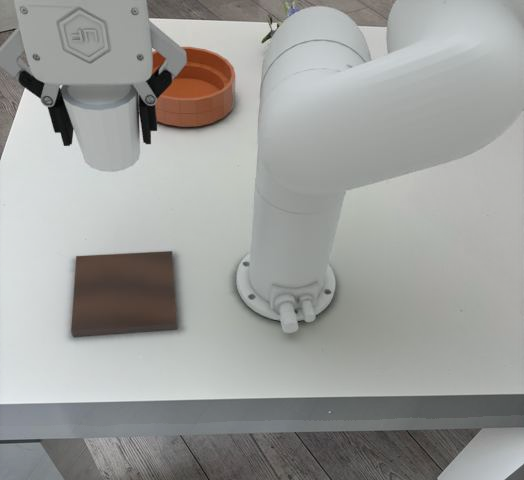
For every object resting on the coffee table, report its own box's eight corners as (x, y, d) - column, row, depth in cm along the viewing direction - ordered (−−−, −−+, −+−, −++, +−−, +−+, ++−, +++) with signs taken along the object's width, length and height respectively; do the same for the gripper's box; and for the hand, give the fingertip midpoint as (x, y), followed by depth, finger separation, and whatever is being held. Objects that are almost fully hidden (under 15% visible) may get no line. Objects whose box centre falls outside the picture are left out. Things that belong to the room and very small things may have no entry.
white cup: (132, 181, 53) (121, 114, 47) (65, 168, 53) (46, 100, 48) (155, 141, 57) (148, 74, 51) (92, 129, 57) (78, 62, 51)
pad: (177, 329, 64) (177, 324, 63) (72, 337, 63) (70, 331, 62) (172, 256, 71) (172, 250, 70) (77, 261, 69) (76, 255, 69)
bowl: (239, 128, 88) (240, 99, 84) (137, 130, 86) (133, 100, 82) (228, 75, 97) (229, 46, 93) (136, 76, 95) (132, 46, 91)
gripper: (-75, -69, 36) (11, 163, 50) (191, -63, 38) (199, 158, 52) (-53, -109, 40) (21, 116, 54) (186, -101, 42) (195, 113, 57)
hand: (108, 135), depth 53 cm, fingers closed on white cup, 6 cm apart
